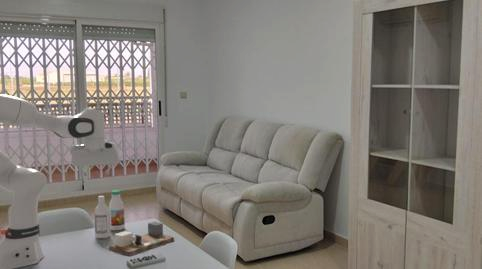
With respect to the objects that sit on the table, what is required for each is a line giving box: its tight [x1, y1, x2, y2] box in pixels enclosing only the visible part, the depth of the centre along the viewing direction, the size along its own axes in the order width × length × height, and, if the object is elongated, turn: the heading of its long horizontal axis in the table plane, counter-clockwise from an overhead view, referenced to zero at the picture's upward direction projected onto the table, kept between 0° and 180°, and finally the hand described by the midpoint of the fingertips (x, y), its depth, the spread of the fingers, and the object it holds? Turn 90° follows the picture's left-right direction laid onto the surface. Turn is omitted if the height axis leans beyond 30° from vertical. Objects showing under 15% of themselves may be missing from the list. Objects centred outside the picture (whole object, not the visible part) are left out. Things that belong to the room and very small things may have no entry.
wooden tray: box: [108, 233, 175, 257], centre depth 212 cm, size 26×14×2 cm, turn 141°
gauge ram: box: [114, 230, 136, 247], centre depth 207 cm, size 8×8×5 cm
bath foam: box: [93, 195, 111, 239], centre depth 224 cm, size 7×7×20 cm
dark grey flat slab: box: [134, 234, 144, 245], centre depth 207 cm, size 1×5×4 cm, turn 51°
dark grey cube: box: [147, 221, 164, 237], centre depth 222 cm, size 4×6×6 cm, turn 51°
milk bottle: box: [108, 189, 126, 231], centre depth 236 cm, size 8×8×20 cm
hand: (96, 175), depth 206 cm, fingers open, 8 cm apart
